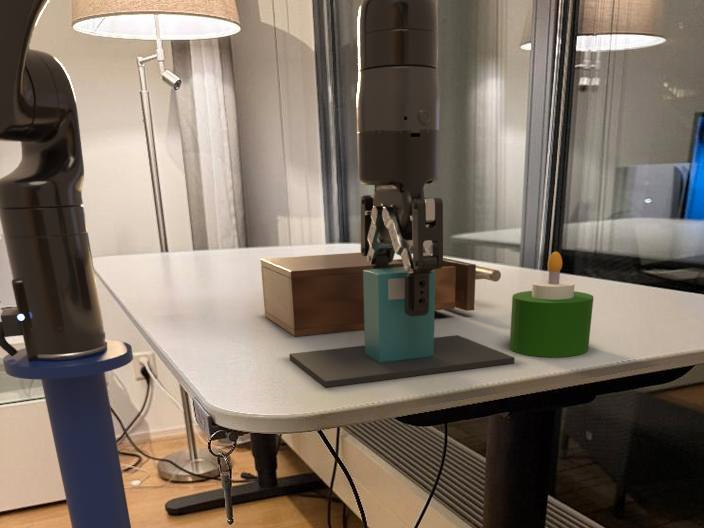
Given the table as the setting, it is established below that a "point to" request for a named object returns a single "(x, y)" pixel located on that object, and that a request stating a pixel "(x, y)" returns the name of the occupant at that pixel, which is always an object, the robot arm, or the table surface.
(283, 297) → the cabinet
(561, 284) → the candle
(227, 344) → the table surface
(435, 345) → the mat
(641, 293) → the table surface
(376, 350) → the teal labeled box
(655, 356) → the table surface
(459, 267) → the drawer
